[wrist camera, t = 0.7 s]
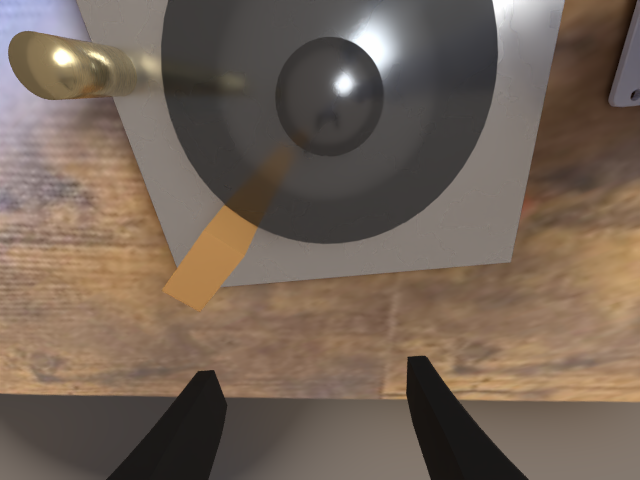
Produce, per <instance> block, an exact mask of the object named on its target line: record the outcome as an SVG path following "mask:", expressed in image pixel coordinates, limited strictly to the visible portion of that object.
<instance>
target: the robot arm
mask: <svg viewBox="0 0 640 480" xmlns="http://www.w3.org/2000/svg"><path fill="white" fill-rule="evenodd" d="M634 91H635V94H634V96H633V98H631V99H630V97H631V94H632V92H634ZM609 104H610V105H611V106H613V107H628V106H637V105H640V0H637V3H636V7H635V10H634V13H633V17H632V20H631V24H630V27H629V31H628V34H627V37H626V41H625V44H624V48H623V51H622V54H621V58H620V61H619V65H618V68H617V71H616V75H615V78H614V82H613V85H612V89H611V92H610V95H609ZM406 395H407V400H408V404H409V409H410V413H411V418H412V422H413V426H414V429H415V432H416V435H417V438H418V441H419V445H420V448H421V451H422V454H423V457H424V460H425V463H426V466H427V469H428V472H429V475H430V478H431V480H528V478H527V477H526V476H524V474H523V473H522V472H521V471H520V470H519V469H518V468H517V467H516V466H515V465H514V464H513V463H512V462H511V461H510V460H509V459H508V458H507V457H506V456H505V455H504V454H503V453H502V452H501V450H500V449H499V448H498V447H497V446H496V445H495V444H494V443H493V442H492V440H491V439H490V438H489V437H488V436H487V435H486V434H485V432H484V431H483V430H482V429H481V428H480V427H479V426H478V424H477V423H476V422H475V421H474V420H473V418H472V417H471V416H470V415H469V414H468V412H467V411H466V410H465V409H464V407H463V406H462V405H461V404H460V402H459V401H458V400H457V399H456V397H455V396H454V395H453V393H452V392H451V391H450V389H449V388H448V387H447V385H446V384H445V383H444V381H443V380H442V378H441V377H440V376H439V374H438V373H437V371H436V370H435V368H434V367H433V365H432V364H431V362H430V361H429V359H428V358H427V357H426V356H412V357H408V362H407V390H406ZM226 410H227V403H226V401H225V398H224V395H223V393H222V390H221V387H220V385H219V382H218V379H217V377H216V374H215V371H214V370H209V371H198V372H197V373H196V375H195V376H194V377H193V378H192V379H191V381H190V382H189V383H188V385H187V386H186V387H185V388H184V390H183V391H182V392H181V393H180V395H179V396H178V397H177V399H176V400H175V401H174V402H173V404H172V405H171V406H170V407H169V409H168V410H167V411H166V412H165V414H164V415H163V416H162V417H161V418H160V420H159V421H158V422H157V423H156V424H155V426H154V427H153V428H152V429H151V431H150V432H149V433H148V434H147V435H146V436H145V438H144V439H143V440H142V441H141V442H140V443H139V444H138V446H137V447H136V448H135V449H134V450H133V451H132V452H131V453H130V455H129V456H128V457H127V458H126V459H125V460H124V461H123V462H122V464H121V465H120V466H119V467H118V468H117V469H116V470H115V471H114V472H113V473H112V474H111V475H110V476H109V477H108V478H107V479H106V480H208V478H209V475H210V472H211V469H212V465H213V462H214V459H215V456H216V452H217V449H218V445H219V442H220V439H221V435H222V431H223V426H224V421H225V415H226Z"/></svg>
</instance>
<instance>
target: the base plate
mask: <svg viewBox="0 0 640 480" xmlns="http://www.w3.org/2000/svg"><path fill="white" fill-rule="evenodd" d="M492 1H493V6H494V12H495V18H496V24H497V38H498V63H497V75H496V83H495V88H494V93H493V98H492V103H491V107H490V110H489V113H488V116H487V119H486V122H485V126H484V128H483V130H482V133H481V135H480V137H479V139H478V142H477V144H476V146H475V148H474V150H473V151H472V153H471V155H470V157H469V158H468V160H467V162H466V163H465V165H464V167H463V168H462V169H461V171H460V172H459V173H458V175H457V176H456V177H455V179H454V180H453V182H452V183H451V184H450V185H449V186H448V187H447V188H446V189H445V190H444V192H443V193H442V194H441V195H440V196H439V197H438V198H437V199H436V200H434V201H433V202H432V203H431V204H430V205H429V206H428V207H426V208H425V209H424V210H423V211H421V212H420V213H419V214H417V215H416V216H414V217H413V218H411V219H410V220H408V221H407V222H405V223H403V224H401V225H399V226H397V227H396V228H394V229H392V230H389V231H387V232H384V233H382V234H379V235H377V236H374V237H370V238H367V239H363V240H359V241H353V242H347V243H338V244H318V243H306V242H301V241H296V240H291V239H287V238H284V237H281V236H278V235H275V234H272V233H270V232H268V231H266V230H264V229H261V228H259V227H258V228H257V230H256V232H255V234H254V237H253V239H252V241H251V243H250V246H249V248H248V250H247V252H246V254H245V256H244V258H243V259H242V260H241V261H240V263H239V264H238V265H237V266H236V268H235V269H234V270H233V271H232V273H231V274H230V275H229V276H228V278H227V279H226V280H225V281H224V283H223V284H222V285H221V286H220V287H229V286H240V285H252V284H264V283H275V282H287V281H298V280H310V279H322V278H333V277H345V276H356V275H368V274H380V273H391V272H403V271H414V270H426V269H438V268H449V267H461V266H472V265H484V264H496V263H507V262H511V258H512V253H513V249H514V244H515V239H516V234H517V229H518V224H519V220H520V215H521V210H522V205H523V200H524V195H525V190H526V186H527V181H528V176H529V171H530V166H531V161H532V157H533V152H534V147H535V142H536V137H537V132H538V127H539V123H540V118H541V113H542V108H543V103H544V98H545V94H546V89H547V84H548V79H549V74H550V69H551V64H552V60H553V55H554V50H555V45H556V40H557V35H558V31H559V26H560V21H561V16H562V11H563V6H564V1H565V0H492ZM76 2H77V4H78V7H79V9H80V12H81V15H82V17H83V20H84V23H85V25H86V28H87V31H88V33H89V36H90V39H91V41H92V42H86V41H81V40H76V39H70V38H65V37H60V36H54V35H49V34H44V33H38V32H33V31H24V32H20V33H18V34H17V35H15V36H14V37H13V38H12V40H11V42H10V44H9V49H8V56H9V61H10V65H11V67H12V70H13V72H14V73H15V75H16V77H17V78H18V80H19V81H20V82H21V83H22V84H23V85H24V86H25V87H26V88H27V89H28V90H29V91H30V92H32V93H33V94H35V95H37V96H39V97H41V98H44V99H48V100H62V99H81V98H99V97H113V100H114V102H115V105H116V107H117V110H118V113H119V115H120V118H121V121H122V123H123V126H124V129H125V131H126V134H127V137H128V139H129V142H130V145H131V147H132V150H133V153H134V155H135V158H136V160H137V163H138V166H139V168H140V171H141V174H142V176H143V179H144V182H145V184H146V187H147V190H148V192H149V195H150V198H151V200H152V203H153V205H154V208H155V211H156V213H157V216H158V219H159V221H160V224H161V227H162V229H163V232H164V235H165V237H166V240H167V243H168V245H169V248H170V251H171V253H172V256H173V258H174V261H175V264H176V266H177V268H178V266H179V265H180V263H181V262H182V260H183V259H184V258H185V256H186V255H187V253H188V252H189V250H190V249H191V248H192V246H193V245H194V243H195V242H196V240H197V239H198V238H199V236H200V235H201V233H202V232H203V230H204V229H205V228H206V227H207V225H208V224H209V223H210V222H211V221H212V219H213V218H214V217H215V216H216V214H217V213H218V212H219V211H220V210H221V208H222V207H223V206H224V205H225V204H224V203H223V202H222V201H221V200H220V199H219V198H218V197H217V196H216V195H215V194H214V193H213V192H212V191H211V190H210V189H209V187H208V186H207V185H206V184H205V183H204V181H203V180H202V179H201V178H200V177H199V175H198V174H197V172H196V170H195V169H194V167H193V166H192V164H191V163H190V161H189V160H188V158H187V156H186V154H185V152H184V150H183V148H182V146H181V144H180V142H179V140H178V138H177V135H176V132H175V130H174V127H173V124H172V122H171V119H170V115H169V111H168V107H167V103H166V99H165V95H164V87H163V80H162V72H161V40H162V31H163V22H164V16H165V11H166V7H167V3H168V0H76Z"/></svg>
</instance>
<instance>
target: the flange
mask: <svg viewBox="0 0 640 480" xmlns="http://www.w3.org/2000/svg"><path fill="white" fill-rule="evenodd" d="M497 63H498V38H497V24H496V18H495V12H494V6H493V1H492V0H168V3H167V7H166V11H165V16H164V22H163V31H162V40H161V72H162V80H163V87H164V95H165V99H166V103H167V107H168V111H169V115H170V119H171V122H172V124H173V127H174V130H175V132H176V135H177V138H178V140H179V142H180V144H181V146H182V148H183V150H184V152H185V154H186V156H187V158H188V160H189V161H190V163H191V164H192V166H193V167H194V169H195V170H196V172H197V174H198V175H199V177H200V178H201V179H202V180H203V181H204V183H205V184H206V185H207V186H208V187H209V189H210V190H211V191H212V192H213V193H214V194H215V195H216V196H217V197H218V198H219V199H220V200H221V201H222V202H223V203H224V204H225V205H224V206H223V207H222V208H221V210H220V211H219V212H218V213H217V214H216V216H215V217H214V218H213V219H212V221H211V222H210V223H209V224H208V225H207V227H206V228H205V229H204V230H203V232H202V233H201V235H200V236H199V238H198V239H197V240H196V242H195V243H194V245H193V246H192V248H191V249H190V250H189V252H188V253H187V255H186V256H185V258H184V259H183V260H182V262H181V263H180V265H179V266H178V268H177V269H176V271H175V272H174V273H173V275H172V276H171V278H170V279H169V281H168V282H167V283H166V285H165V286H164V288H163V289H162V291H163V292H165V293H167V294H168V295H170V296H172V297H174V298H176V299H177V300H179V301H181V302H183V303H185V304H186V305H188V306H190V307H192V308H194V309H195V310H197V311H199V312H200V311H201V310H202V309H203V308H204V306H205V305H206V304H207V303H208V301H209V300H210V299H211V298H212V296H213V295H214V294H215V293H216V291H217V290H218V289H219V288H220V286H221V285H222V284H223V283H224V281H225V280H226V279H227V278H228V276H229V275H230V274H231V273H232V271H233V270H234V269H235V268H236V266H237V265H238V264H239V263H240V261H241V260H242V259H243V258H244V256H245V254H246V252H247V250H248V248H249V246H250V243H251V241H252V239H253V237H254V234H255V232H256V230H257V228H258V227H259V228H261V229H264V230H266V231H268V232H270V233H272V234H275V235H278V236H281V237H284V238H287V239H291V240H296V241H301V242H306V243H318V244H338V243H347V242H353V241H359V240H363V239H367V238H370V237H374V236H377V235H379V234H382V233H384V232H387V231H389V230H392V229H394V228H396V227H397V226H399V225H401V224H403V223H405V222H407V221H408V220H410V219H411V218H413V217H414V216H416V215H417V214H419V213H420V212H421V211H423V210H424V209H425V208H426V207H428V206H429V205H430V204H431V203H432V202H433V201H434V200H436V199H437V198H438V197H439V196H440V195H441V194H442V193H443V192H444V190H445V189H446V188H447V187H448V186H449V185H450V184H451V183H452V182H453V180H454V179H455V177H456V176H457V175H458V173H459V172H460V171H461V169H462V168H463V167H464V165H465V163H466V162H467V160H468V158H469V157H470V155H471V153H472V151H473V150H474V148H475V146H476V144H477V142H478V139H479V137H480V135H481V133H482V130H483V128H484V126H485V122H486V119H487V116H488V113H489V110H490V107H491V103H492V98H493V93H494V88H495V83H496V75H497Z"/></svg>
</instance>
